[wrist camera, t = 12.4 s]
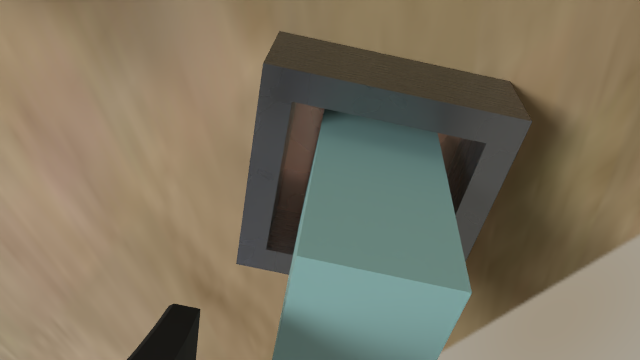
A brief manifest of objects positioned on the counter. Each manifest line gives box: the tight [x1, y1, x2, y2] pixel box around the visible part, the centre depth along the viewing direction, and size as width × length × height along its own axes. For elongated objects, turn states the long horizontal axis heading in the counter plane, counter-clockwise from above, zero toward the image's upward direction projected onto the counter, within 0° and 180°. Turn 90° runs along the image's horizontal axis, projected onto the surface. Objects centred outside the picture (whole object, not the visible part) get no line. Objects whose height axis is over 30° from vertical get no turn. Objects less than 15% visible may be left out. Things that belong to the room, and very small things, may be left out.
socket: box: [236, 31, 532, 275], centre depth 18 cm, size 8×8×3 cm
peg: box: [272, 109, 472, 360], centre depth 16 cm, size 4×4×8 cm
